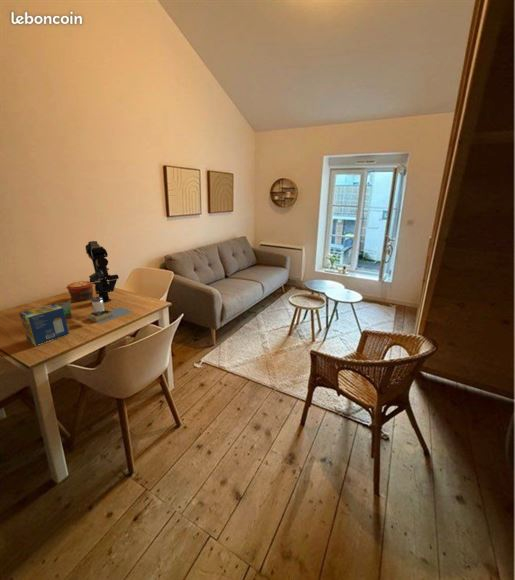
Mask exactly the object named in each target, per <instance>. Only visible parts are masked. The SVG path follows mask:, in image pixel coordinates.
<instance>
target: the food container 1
mask: <svg viewBox="0 0 515 580" xmlns="http://www.w3.org/2000/svg"><path fill="white" fill-rule="evenodd" d="M54 304H55V305H58V306H60V307H62V308H63V311H64V315H65V319H67V320H68V319H71V318H72V311H71V305H72V302H71V300H67V301H64V302H63V301H62V302H58V303H54Z"/></svg>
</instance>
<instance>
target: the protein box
mask: <svg viewBox="0 0 515 580" xmlns="http://www.w3.org/2000/svg"><path fill="white" fill-rule="evenodd" d="M55 304H56V303H50V304H47V305H44V306H43V305H42V306H39V307H36V308H32V309H29V310H25V311H22V312H19V314H18V315H19V316H20V320H21V324H22V326H23V327H22V328H23V330H24V333H25V337H26V341H27V340H28V341H27V342H29V343H30V342H31V343H30V344H31V345H33V344H34V345H38V344H41V343H44V342H46V341H49V340H52V339H55V338H58V337H61V336H64V335H67V334H69V335H70V332H69V331H70V330H69V328H68V324H67V320H66V319H65V315H64V311H63V308H62V307H60V306H58V305H55ZM67 336H68V335H67ZM64 337H65V336H64ZM61 338H62V337H61ZM58 339H59V338H58ZM55 340H56V339H55ZM44 344H45V343H44ZM34 345H33V346H34Z"/></svg>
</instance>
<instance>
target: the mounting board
mask: <svg viewBox="0 0 515 580" xmlns="http://www.w3.org/2000/svg"><path fill="white" fill-rule="evenodd" d="M109 311H111V312H112V314H113V317H111V318H108V319H105V320H102V321H99V322H95V321H93V320H91V322H94V323H96V324H98V325H100V324H104V323H106V322H109V321H112V320H114V319H117V318H120V317H122V316H125V315H126V316H127V315H129V314H130V313H134V311H133V310H130V309H127V308H124V307H122V306H120V307H116V308H112V309H111V310H109ZM86 319H88V317H86ZM88 320H89V319H88Z"/></svg>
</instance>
